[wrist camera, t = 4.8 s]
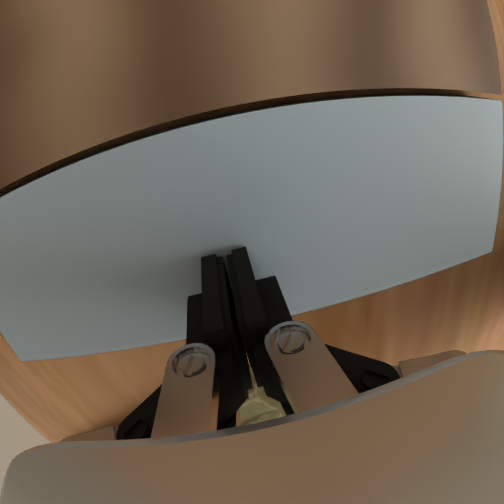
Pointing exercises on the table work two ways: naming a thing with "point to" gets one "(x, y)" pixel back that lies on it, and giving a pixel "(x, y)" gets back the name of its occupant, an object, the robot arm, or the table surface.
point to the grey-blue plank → (247, 215)
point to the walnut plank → (213, 61)
